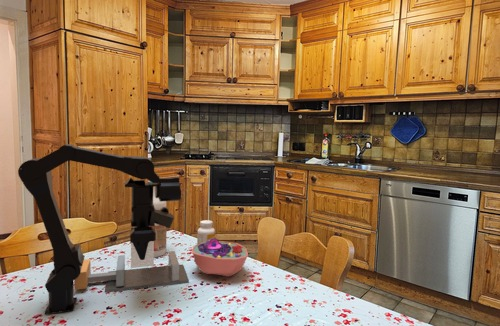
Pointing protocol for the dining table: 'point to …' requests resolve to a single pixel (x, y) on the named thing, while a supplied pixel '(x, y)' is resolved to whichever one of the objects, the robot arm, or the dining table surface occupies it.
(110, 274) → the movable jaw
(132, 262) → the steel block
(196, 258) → the cell model
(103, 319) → the dining table surface
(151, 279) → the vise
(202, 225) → the supplement bottle
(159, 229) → the fruit juice
